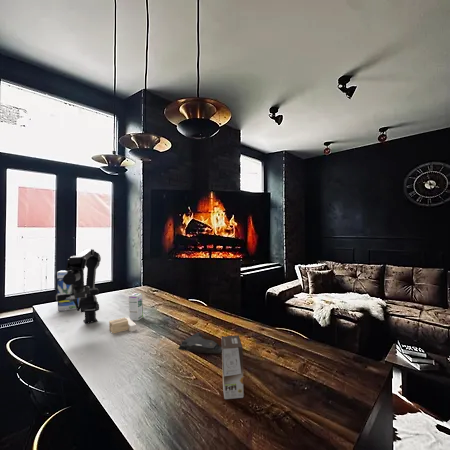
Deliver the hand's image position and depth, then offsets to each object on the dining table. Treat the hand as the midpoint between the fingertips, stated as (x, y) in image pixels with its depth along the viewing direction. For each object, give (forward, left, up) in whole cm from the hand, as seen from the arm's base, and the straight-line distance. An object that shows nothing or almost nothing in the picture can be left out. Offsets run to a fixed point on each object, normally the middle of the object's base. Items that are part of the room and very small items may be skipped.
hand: (78, 310), depth 133 cm
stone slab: (+53, +41, -13) cm, 69 cm away
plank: (+8, +23, -12) cm, 27 cm away
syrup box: (-2, +30, -12) cm, 32 cm away
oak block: (+8, +18, -12) cm, 23 cm away
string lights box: (-52, +2, -12) cm, 53 cm away
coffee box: (+85, +33, -12) cm, 92 cm away
